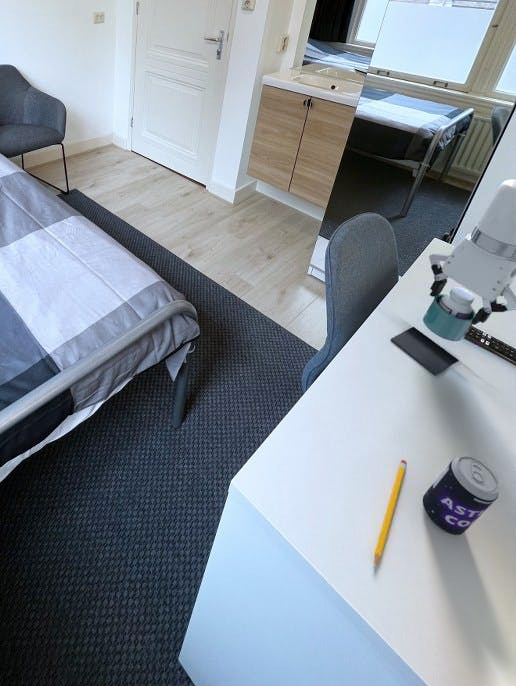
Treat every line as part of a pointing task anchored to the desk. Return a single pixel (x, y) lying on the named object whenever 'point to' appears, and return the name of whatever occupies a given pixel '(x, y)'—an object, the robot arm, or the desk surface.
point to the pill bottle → (457, 303)
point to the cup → (446, 322)
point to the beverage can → (460, 494)
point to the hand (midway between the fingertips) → (454, 307)
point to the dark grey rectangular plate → (424, 350)
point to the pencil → (389, 513)
